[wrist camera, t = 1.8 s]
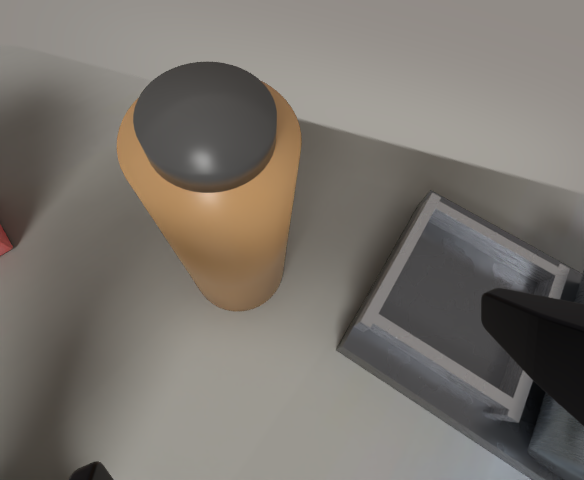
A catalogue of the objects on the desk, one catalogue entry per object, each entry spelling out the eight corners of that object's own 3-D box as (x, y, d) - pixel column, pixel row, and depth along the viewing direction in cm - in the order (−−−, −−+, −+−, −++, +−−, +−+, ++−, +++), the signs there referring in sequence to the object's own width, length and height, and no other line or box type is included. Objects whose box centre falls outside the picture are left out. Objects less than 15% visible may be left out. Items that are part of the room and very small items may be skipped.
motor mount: (566, 502, 19) (712, 558, 13) (336, 350, 21) (364, 334, 15) (615, 315, 23) (742, 288, 17) (418, 204, 26) (467, 144, 19)
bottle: (250, 329, 22) (227, 240, 9) (176, 279, 22) (57, 131, 10) (299, 256, 24) (340, 97, 11) (230, 213, 24) (190, 18, 12)
